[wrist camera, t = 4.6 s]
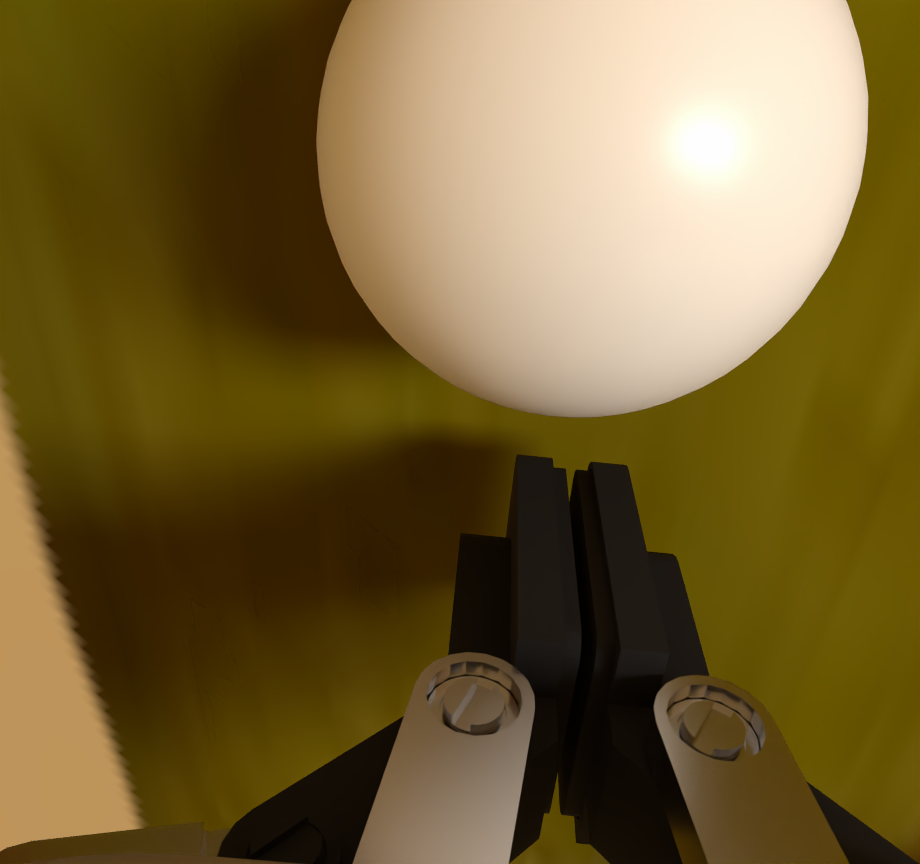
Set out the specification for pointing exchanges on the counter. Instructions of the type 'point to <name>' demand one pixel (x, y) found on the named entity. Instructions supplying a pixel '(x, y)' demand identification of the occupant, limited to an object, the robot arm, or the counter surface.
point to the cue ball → (589, 185)
